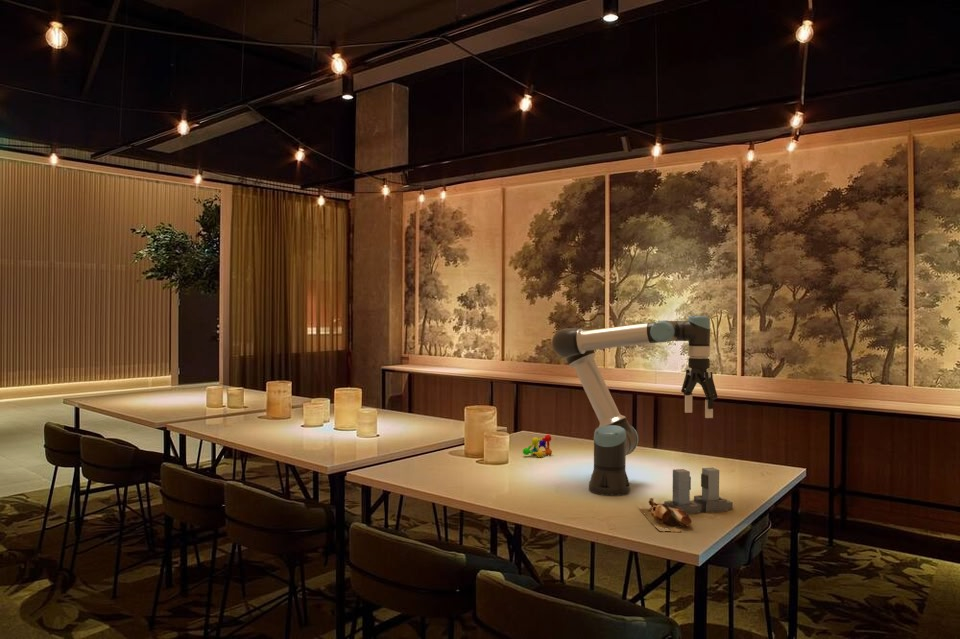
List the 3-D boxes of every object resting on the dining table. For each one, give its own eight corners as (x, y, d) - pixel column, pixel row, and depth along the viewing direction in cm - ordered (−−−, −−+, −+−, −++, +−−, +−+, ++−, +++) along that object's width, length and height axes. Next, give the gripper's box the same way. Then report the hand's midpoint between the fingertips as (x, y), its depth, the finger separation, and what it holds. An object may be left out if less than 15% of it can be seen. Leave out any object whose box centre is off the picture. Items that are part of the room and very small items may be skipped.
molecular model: (524, 462, 321) (545, 441, 327) (539, 470, 313) (560, 448, 320) (517, 446, 315) (538, 425, 321) (532, 454, 307) (553, 432, 314)
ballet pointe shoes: (660, 515, 204) (632, 490, 232) (661, 537, 204) (633, 510, 232) (705, 513, 205) (672, 489, 233) (705, 535, 205) (672, 508, 233)
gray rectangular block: (706, 503, 229) (707, 470, 229) (700, 500, 233) (700, 468, 233) (719, 502, 230) (719, 470, 230) (712, 499, 234) (712, 467, 234)
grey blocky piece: (676, 514, 224) (676, 473, 224) (664, 508, 231) (664, 468, 231) (735, 510, 229) (735, 470, 229) (721, 504, 237) (722, 465, 237)
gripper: (728, 359, 241) (727, 419, 241) (689, 355, 265) (689, 410, 265) (709, 359, 239) (708, 420, 239) (672, 355, 263) (671, 410, 264)
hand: (698, 415), depth 252 cm, fingers open, 13 cm apart
